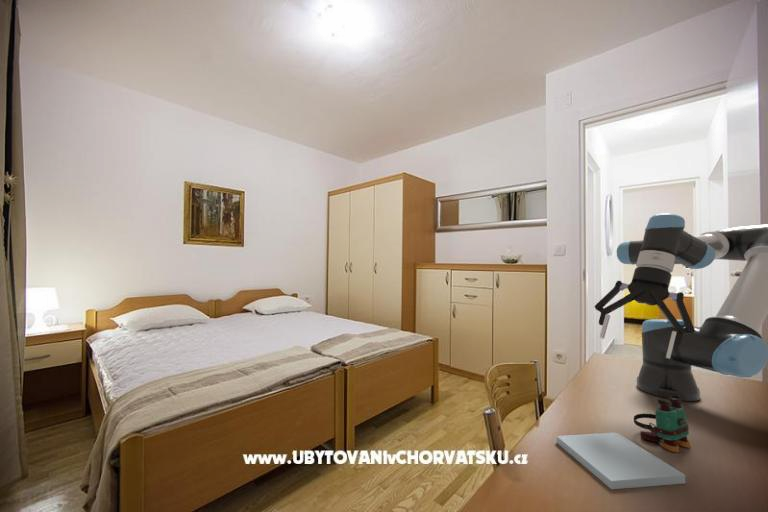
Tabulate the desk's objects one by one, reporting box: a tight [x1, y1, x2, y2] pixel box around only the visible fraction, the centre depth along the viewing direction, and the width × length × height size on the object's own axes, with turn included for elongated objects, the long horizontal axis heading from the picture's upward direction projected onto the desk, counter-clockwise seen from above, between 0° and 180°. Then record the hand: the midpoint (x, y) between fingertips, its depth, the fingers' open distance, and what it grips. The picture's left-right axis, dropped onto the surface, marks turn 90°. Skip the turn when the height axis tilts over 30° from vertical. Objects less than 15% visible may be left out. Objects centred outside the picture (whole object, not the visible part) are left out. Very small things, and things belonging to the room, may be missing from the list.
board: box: [556, 432, 686, 490], centre depth 65 cm, size 15×15×2 cm
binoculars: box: [633, 395, 691, 453], centre depth 73 cm, size 9×11×10 cm
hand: (632, 347), depth 81 cm, fingers open, 13 cm apart
